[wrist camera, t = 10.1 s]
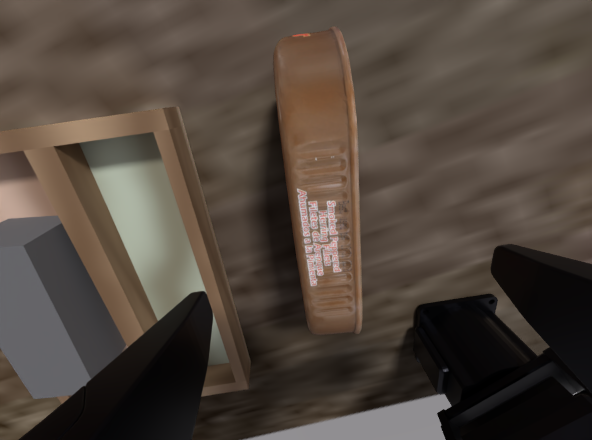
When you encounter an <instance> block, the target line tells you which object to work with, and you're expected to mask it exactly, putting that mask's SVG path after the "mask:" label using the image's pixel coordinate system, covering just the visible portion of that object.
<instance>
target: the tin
mask: <svg viewBox="0 0 592 440" xmlns="http://www.w3.org/2000/svg"><path fill="white" fill-rule="evenodd" d="M273 65H274V81H275V94H276V102H277V112H278V121H279V129H280V137H281V146H282V155H283V162H284V170H285V177H286V185H287V192H288V199H289V207H290V214H291V222H292V230H293V237H294V244H295V251H296V257H297V264H298V270H299V277H300V284H301V289H302V295H303V302H304V308H305V314H306V320H307V325H308V329H309V331H310V332H311V333H312V334H315V335H324V334H336V333H347V332H353V333H355V334H358V333H360V331H361V327H362V280H361V245H360V207H359V166H358V165H359V158H358V130H357V117H356V107H355V98H354V88H353V82H352V75H351V68H350V63H349V56H348V52H347V48H346V44H345V41H344V39H343V35H342V33H341V31H340V30H339V29H338V28H337V27H331V28H330V29H329V30H327V31H322V32H316V33H308V34H299V35H293V36H289V37H284V38H282V39H281V40H280V41H279V42H278V44H277V45H276V47H275V50H274V61H273Z"/></svg>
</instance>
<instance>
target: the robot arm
mask: <svg viewBox="0 0 592 440" xmlns="http://www.w3.org/2000/svg"><path fill="white" fill-rule="evenodd" d="M491 273H492V275H493V277H494V278H495V280H496V281H497V283H498V284H499V285H500V287H501V288H502V289H503V291H504V292H505V293H506V295H507V296H508V297H509V299H510V300H511V301H512V303H513V304H514V305H515V307H516V308H517V309H518V311H519V312H520V313H521V314H522V316H523V317H524V318H525V319H526V321H527V322H528V323H529V324H530V325H531V326H532V327H533V329H534V330H535V331H536V332H537V333H538V334H539V335H540V336H541V337H542V339H543V340H544V341H545V342H546V343H547V344H548V345H549V346H550V347H549V348H547V349H546V350H544V351H542V352H543V353H542V354H541V355H539V356H537V355H536V354H535V353H534V352H533V351H532V350H531V349H530V348H529V347H528V346H527V345H526V344H525V343H524V342H523V341H522V340H521V339H520V338H519V337H518V336H517V335H516V334H515V333H514V332H513V331H512V330H511V329H510V328H509V327H508V326H506V325H505V324H504V323H503V322H502V321H501V320H500V319H499V318H498V317H497V316H496V315H495V310H496V306H497V301H498V300H497V298H496V297H495V296H494V295H493V294H486V295H479V296H473V297H466V298H460V299H453V300H447V301H440V302H434V303H427V304H423V305H421V306H419V308H418V314H417V327H416V329H415V333H414V348H413V350H414V352H415V358H416V360H417V361H418V362H420V363H421V365H422V367H423V368H424V370H425V372H426V374H427V376H428V377H429V379H430V381H431V383H432V385H433V386H434V388H435V390H436V392H438V393H439V394H440V395H441V394H445V395H446V397H447V399H448V401H449V402H450V404H451V406H452V407H450V408H448V409H447V410H444V409H443V410H442V411H440V412H438V413H437V414H438V417H439V419H440V422H441V425H442V426H441V428H442V431H443V434H444V436H445V439H446V440H592V264H589V263H585V262H581V261H577V260H573V259H569V258H565V257H561V256H557V255H553V254H549V253H545V252H541V251H537V250H533V249H529V248H525V247H521V246H517V245H513V244H507V245H500V246H497V247H496V248H495V249H494V253H493V258H492V264H491ZM424 310H425V311H424ZM212 325H213V311H212V308H211V305H210V302H209V299H208V296H207V294H206V292H205V291H198V292H192V293H190V294H189V295H188V296H187V297H185V298H184V299H183V300H182V301H181V302H180V303H178V304H177V305H176V306H175V307H174V308H173V309H171V310H170V311H169V312H168V313H167V314H166V315H165V316H163V317H162V318H161V319H160V320H159V321H158V322H156V323H155V324H154V325H153V326H152V327H151V328H150V329H148V330H147V331H146V332H145V333H144V334H143V335H141V336H140V337H139V338H138V339H137V340H136V341H134V342H133V343H132V344H131V345H130V346H129V347H128V348H126V349H125V350H124V351H123V352H122V353H121V354H119V355H118V356H117V357H116V358H115V359H114V360H113V361H111V362H110V363H109V364H108V365H107V366H106V367H104V368H103V369H102V370H101V371H100V372H99V373H97V374H96V375H95V376H94V377H93V378H92V379H91V380H89V381H88V382H87V383H86V386H82V387H81V388H80V389H79V390H78V391H77V392H75V393H74V394H73V395H72V396H71V397H70V398H68V399H67V400H66V401H65V402H64V403H63V404H61V405H60V406H59V407H58V408H57V409H55V410H54V411H53V412H52V413H51V414H50V415H48V416H47V417H46V418H45V419H44V420H42V421H41V422H40V423H39V424H37V425H36V426H35V427H34V428H32V429H31V430H30V431H29V432H27V433H26V434H25V435H24V436H22V437H21V438H20V439H19V440H192V435H193V431H194V426H195V422H196V417H197V413H198V409H199V404H200V400H201V395H202V391H203V386H204V382H205V378H206V373H207V368H208V361H209V352H210V343H211V334H212ZM576 392H577V394H575V395H572V394H574V393H576Z"/></svg>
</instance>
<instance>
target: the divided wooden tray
mask: <svg viewBox="0 0 592 440" xmlns="http://www.w3.org/2000/svg"><path fill="white" fill-rule="evenodd" d="M57 215H58V217H59V219H60V221H61V223H62V224H63V226H64V228H65V230H66V232H67V234H68V236H69V238H70V239H71V241H72V243H73V245H74V247H75V249H76V251H77V253H78V255H79V256H80V258H81V260H82V262H83V264H84V266H85V268H86V270H87V271H88V273H89V275H90V277H91V279H92V281H93V283H94V285H95V287H96V288H97V290H98V292H99V294H100V296H101V298H102V300H103V302H104V303H105V305H106V307H107V309H108V311H109V313H110V315H111V317H112V319H113V320H114V322H115V324H116V326H117V328H118V330H119V332H120V334H121V335H122V337H123V339H124V341H125V343H126V346H125V348H124V350H125V349H126V348H128V347H129V346H130V345H131V344H132V343H133V342H134V341H136V340H137V339H138V338H139V337H140V336H141V335H143V334H144V333H145V332H146V331H147V330H148V329H150V328H151V327H152V326H153V325H154V324H155V323H156V322H158V321H159V320H160V319H161V318H162V317H163V316H165V315H166V314H167V313H168V312H169V311H170V310H171V309H173V308H174V307H175V306H176V305H177V304H178V303H180V302H181V301H182V300H183V299H184V298H185V297H187V296H188V295H189V294H190V293H192V292H198V291H205V292H206V294H207V296H208V299H209V302H210V305H211V308H212V311H213V325H212V334H211V343H210V352H209V361H208V368H207V373H206V378H205V382H204V386H203V391H202V395H201V397H202V396H208V395H214V394H221V393H227V392H233V391H240V390H246V389H249V379H250V367H251V360H250V357H249V353H248V350H247V346H246V343H245V339H244V336H243V332H242V328H241V325H240V321H239V318H238V314H237V311H236V307H235V304H234V300H233V297H232V293H231V290H230V286H229V283H228V279H227V275H226V272H225V268H224V265H223V261H222V258H221V254H220V251H219V247H218V244H217V240H216V237H215V233H214V230H213V226H212V222H211V219H210V215H209V212H208V208H207V205H206V201H205V198H204V194H203V191H202V187H201V184H200V180H199V177H198V173H197V169H196V166H195V162H194V159H193V155H192V152H191V148H190V145H189V141H188V138H187V134H186V131H185V127H184V124H183V120H182V116H181V113H180V109H179V107H172V108H162V109H155V110H148V111H141V112H134V113H127V114H120V115H113V116H106V117H99V118H92V119H85V120H78V121H71V122H64V123H57V124H50V125H43V126H36V127H29V128H22V129H15V130H8V131H1V132H0V222H2V221H5V220H7V219H10V218H25V217H41V216H57ZM124 350H123V351H124ZM123 351H122V352H123ZM71 396H72V395H70V396H59V397H57V398H58V399H59V400H60V402H61V403H62V404H63V403H64V402H65V401H66V400H67V399H68V398H70V397H71Z"/></svg>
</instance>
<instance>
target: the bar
mask: <svg viewBox="0 0 592 440" xmlns="http://www.w3.org/2000/svg"><path fill="white" fill-rule="evenodd" d="M125 346H126V343H125V341H124V339H123V337H122V335H121V334H120V332H119V330H118V328H117V326H116V324H115V322H114V320H113V319H112V317H111V315H110V313H109V311H108V309H107V307H106V305H105V303H104V302H103V300H102V298H101V296H100V294H99V292H98V290H97V288H96V287H95V285H94V283H93V281H92V279H91V277H90V275H89V273H88V271H87V270H86V268H85V266H84V264H83V262H82V260H81V258H80V256H79V255H78V253H77V251H76V249H75V247H74V245H73V243H72V241H71V239H70V238H69V236H68V234H67V232H66V230H65V228H64V226H63V224H62V223H61V221H60V219H59V217H58V215H57V216H41V217H25V218H10V219H7V220H5V221H2V222H0V348H1V350H2V351H3V353H4V354H5V356H6V357H7V359H8V360H9V362H10V363H11V365H12V367H13V368H14V370H15V371H16V373H17V374H18V376H19V377H20V379H21V380H22V382H23V383H24V385H25V386H26V388H27V389H28V391H29V392H30V394H31V395H32V397H33V398H34V399H39V398H49V397H59V396H70V395H73V394H74V393H75V392H77V391H78V390H79V389H80V388H81V387H82V386H86V383H87V382H88V381H89V380H91V379H92V378H93V377H94V376H95V375H96V374H97V373H99V372H100V371H101V370H102V369H103V368H104V367H106V366H107V365H108V364H109V363H110V362H111V361H113V360H114V359H115V358H116V357H117V356H118V355H119V354H121V353H122V351H123V350H124V348H125Z"/></svg>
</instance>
